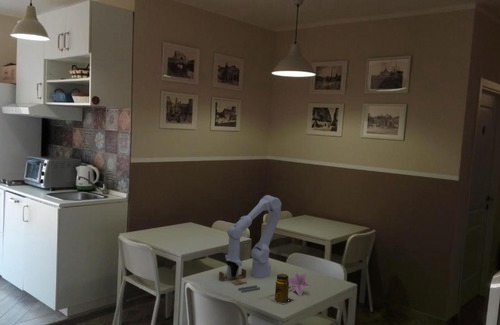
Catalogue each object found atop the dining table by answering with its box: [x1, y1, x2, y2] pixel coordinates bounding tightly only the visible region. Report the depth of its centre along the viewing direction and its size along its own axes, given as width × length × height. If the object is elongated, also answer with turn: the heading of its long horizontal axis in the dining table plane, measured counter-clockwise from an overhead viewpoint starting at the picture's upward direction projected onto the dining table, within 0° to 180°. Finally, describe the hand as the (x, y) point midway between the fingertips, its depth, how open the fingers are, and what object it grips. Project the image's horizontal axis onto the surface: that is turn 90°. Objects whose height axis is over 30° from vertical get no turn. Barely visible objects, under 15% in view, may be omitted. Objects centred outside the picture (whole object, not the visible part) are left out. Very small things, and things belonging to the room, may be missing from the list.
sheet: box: [226, 265, 240, 278], centre depth 232 cm, size 6×1×8 cm, turn 120°
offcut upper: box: [231, 279, 248, 286], centre depth 226 cm, size 6×4×1 cm
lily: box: [288, 271, 311, 297], centre depth 222 cm, size 12×12×10 cm
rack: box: [218, 268, 247, 282], centre depth 229 cm, size 14×14×6 cm
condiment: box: [271, 273, 295, 305], centre depth 210 cm, size 7×8×12 cm
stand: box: [238, 284, 261, 294], centre depth 217 cm, size 12×8×2 cm, turn 120°
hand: (232, 275), depth 232 cm, fingers closed on sheet, 1 cm apart
